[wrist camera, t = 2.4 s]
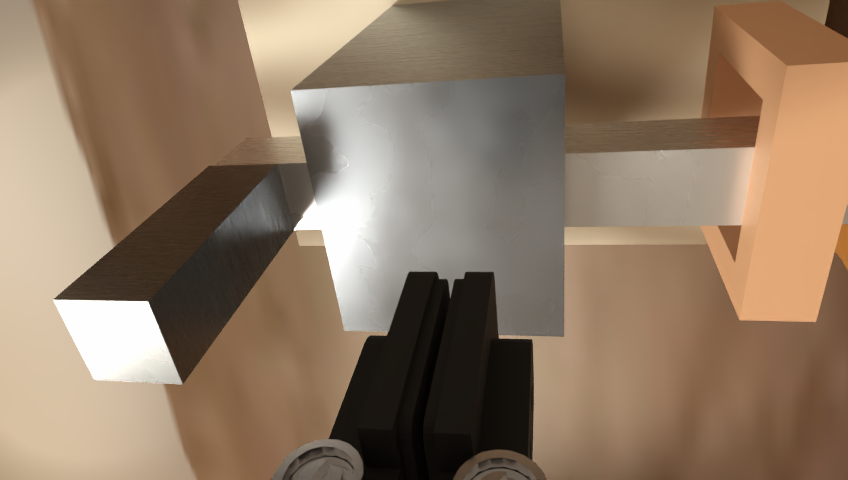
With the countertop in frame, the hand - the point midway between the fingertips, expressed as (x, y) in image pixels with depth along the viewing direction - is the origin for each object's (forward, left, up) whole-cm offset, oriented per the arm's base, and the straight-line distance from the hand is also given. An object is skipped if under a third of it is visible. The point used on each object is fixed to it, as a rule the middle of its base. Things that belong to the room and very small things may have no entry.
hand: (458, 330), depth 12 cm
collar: (0, -8, -13) cm, 16 cm away
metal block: (0, +1, -17) cm, 17 cm away
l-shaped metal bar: (0, -1, -10) cm, 10 cm away
